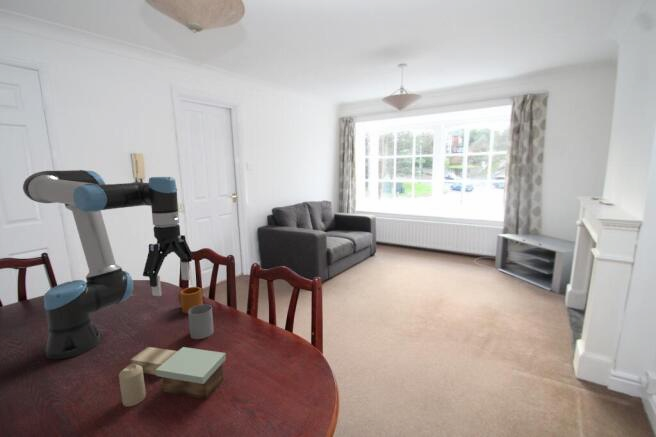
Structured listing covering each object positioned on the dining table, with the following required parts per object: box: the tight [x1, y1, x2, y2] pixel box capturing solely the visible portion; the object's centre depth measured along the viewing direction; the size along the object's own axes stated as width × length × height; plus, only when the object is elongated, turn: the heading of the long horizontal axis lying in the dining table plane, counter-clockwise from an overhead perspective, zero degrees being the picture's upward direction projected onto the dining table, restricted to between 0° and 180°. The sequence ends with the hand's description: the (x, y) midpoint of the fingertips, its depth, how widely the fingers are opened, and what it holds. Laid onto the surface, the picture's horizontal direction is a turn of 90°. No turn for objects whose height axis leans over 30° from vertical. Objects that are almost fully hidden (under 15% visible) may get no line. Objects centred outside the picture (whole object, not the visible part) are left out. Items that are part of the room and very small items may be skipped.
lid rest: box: [130, 346, 179, 376], centre depth 98 cm, size 12×7×4 cm, turn 77°
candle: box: [118, 363, 147, 408], centre depth 83 cm, size 6×6×10 cm
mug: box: [177, 286, 204, 314], centre depth 139 cm, size 9×12×9 cm
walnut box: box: [162, 363, 224, 400], centre depth 89 cm, size 14×8×6 cm, turn 77°
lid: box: [155, 346, 227, 384], centre depth 88 cm, size 15×11×2 cm
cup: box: [187, 304, 214, 340], centre depth 117 cm, size 8×8×10 cm
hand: (172, 287), depth 101 cm, fingers open, 13 cm apart
